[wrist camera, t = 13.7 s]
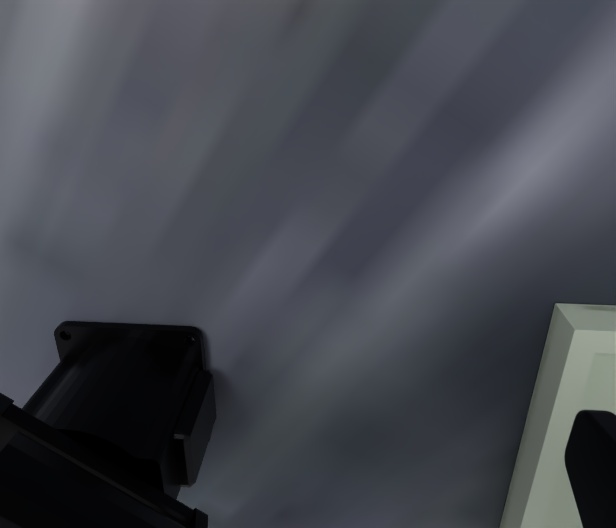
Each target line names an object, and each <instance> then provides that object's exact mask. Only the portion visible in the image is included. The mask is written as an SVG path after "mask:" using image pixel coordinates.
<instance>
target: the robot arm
mask: <svg viewBox="0 0 616 528" xmlns="http://www.w3.org/2000/svg"><path fill="white" fill-rule="evenodd" d="M65 331H67V332H69V333H70V335H71V336H70V335H67V334H66V333H65ZM54 336H55V340H56V345H57V349H58V353H59V357H60V363H59V364H58V365H57V366H56V368H55V369H54V370H53V371H52V372H51V374H50V375H49V376H48V377H47V379H46V380H45V381H44V382H43V383H42V385H41V386H40V387H39V388H38V390H37V391H36V392H35V393H34V394H33V396H32V397H31V398H30V399H29V401H28V402H27V403H26V404H25V405H24V407H23V408H22V409H21V408H19V407H18V406H16V405H14V404H12V403H13V402H14V401H13V400H12V399H10V398H8V397H7V396H5V395H3V394H2V393H0V528H208V515H207V514H205V513H203V512H202V511H200V510H198V509H197V508H195V509H191V508H189V507H188V506H186V505H184V504H183V503H181V502H179V501H177V500H176V499H177V496H178V493H179V491H180V488H181V487H191V486H192V485H193V484H194V483H195V482H196V479H197V476H198V473H199V470H200V467H201V464H202V460H203V457H204V454H205V451H206V448H207V445H208V442H209V440H210V437H211V432H212V429H213V425H214V422H215V419H216V406H215V394H214V382H213V375H212V374H211V372H210V371H209V370H206V365H205V354H204V342H203V335H202V333H201V331H200V330H199V329H197V328H195V327H191V326H169V325H146V324H122V323H99V322H76V321H65V322H62V323H61V324H60V325H59V326H58V327H57V328H56V329H55V331H54ZM187 336H190V337H192V338H194V340H195V341H190V340H188V339H187ZM564 459H565V467H566V471H567V474H568V478H569V481H570V485H571V488H572V491H573V495H574V498H575V502H576V505H577V509H578V512H579V516H580V519H581V523H582V526H583V528H616V415H615V414H613V413H612V412H609V411H605V410H581V411H579V412H578V413H577V414H576V416H575V419H574V422H573V426H572V429H571V432H570V435H569V439H568V442H567V445H566V449H565V455H564Z"/></svg>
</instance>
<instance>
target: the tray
mask: <svg viewBox="0 0 616 528" xmlns="http://www.w3.org/2000/svg"><path fill="white" fill-rule="evenodd" d="M581 410H605V411H609V412H612V413H613V414H615V415H616V306H613V305H588V304H562V303H555V306H554V310H553V314H552V318H551V322H550V326H549V330H548V334H547V338H546V342H545V346H544V350H543V354H542V358H541V362H540V366H539V370H538V374H537V378H536V382H535V386H534V390H533V394H532V398H531V402H530V406H529V410H528V414H527V418H526V422H525V426H524V430H523V435H522V439H521V443H520V447H519V451H518V455H517V459H516V463H515V467H514V471H513V475H512V479H511V483H510V487H509V491H508V495H507V499H506V503H505V507H504V511H503V515H502V519H501V523H500V527H499V528H583V526H582V523H581V519H580V516H579V512H578V509H577V505H576V502H575V498H574V495H573V491H572V488H571V485H570V481H569V478H568V474H567V471H566V467H565V459H564V455H565V449H566V445H567V442H568V439H569V435H570V432H571V429H572V426H573V422H574V419H575V416H576V414H577V413H578V412H579V411H581Z"/></svg>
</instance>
